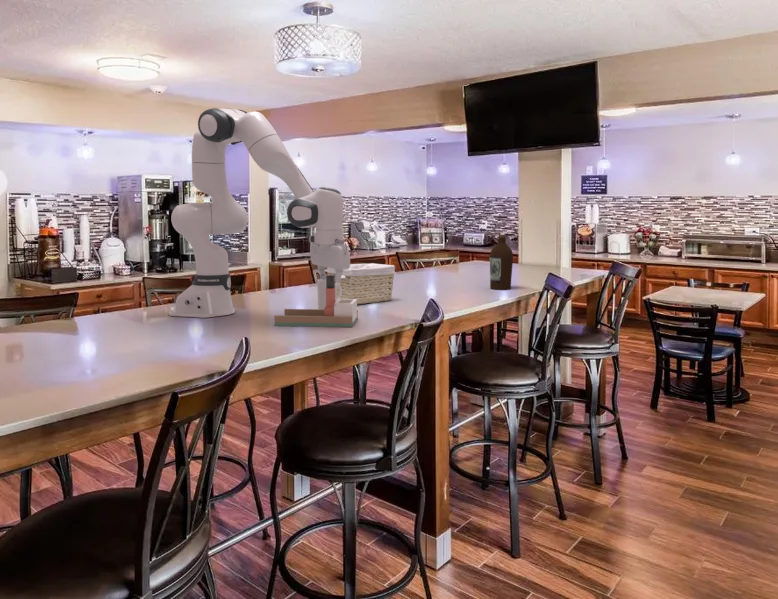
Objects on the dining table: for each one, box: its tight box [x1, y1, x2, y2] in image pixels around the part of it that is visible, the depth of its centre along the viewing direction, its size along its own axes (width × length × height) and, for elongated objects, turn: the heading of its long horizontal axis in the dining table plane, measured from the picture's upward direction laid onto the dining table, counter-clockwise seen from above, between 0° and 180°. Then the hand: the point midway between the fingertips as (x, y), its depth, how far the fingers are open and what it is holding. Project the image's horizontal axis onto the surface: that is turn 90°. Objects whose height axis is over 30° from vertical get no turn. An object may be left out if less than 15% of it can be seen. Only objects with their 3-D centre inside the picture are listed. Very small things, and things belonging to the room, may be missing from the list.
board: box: [274, 299, 359, 328], centre depth 206 cm, size 25×14×7 cm, turn 85°
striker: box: [324, 275, 335, 316], centre depth 205 cm, size 3×7×14 cm, turn 175°
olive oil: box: [489, 234, 514, 291], centre depth 289 cm, size 11×11×25 cm
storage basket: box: [326, 262, 396, 305], centre depth 251 cm, size 24×16×15 cm
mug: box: [316, 278, 342, 309], centre depth 225 cm, size 10×7×12 cm, turn 134°
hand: (330, 280), depth 205 cm, fingers open, 8 cm apart
